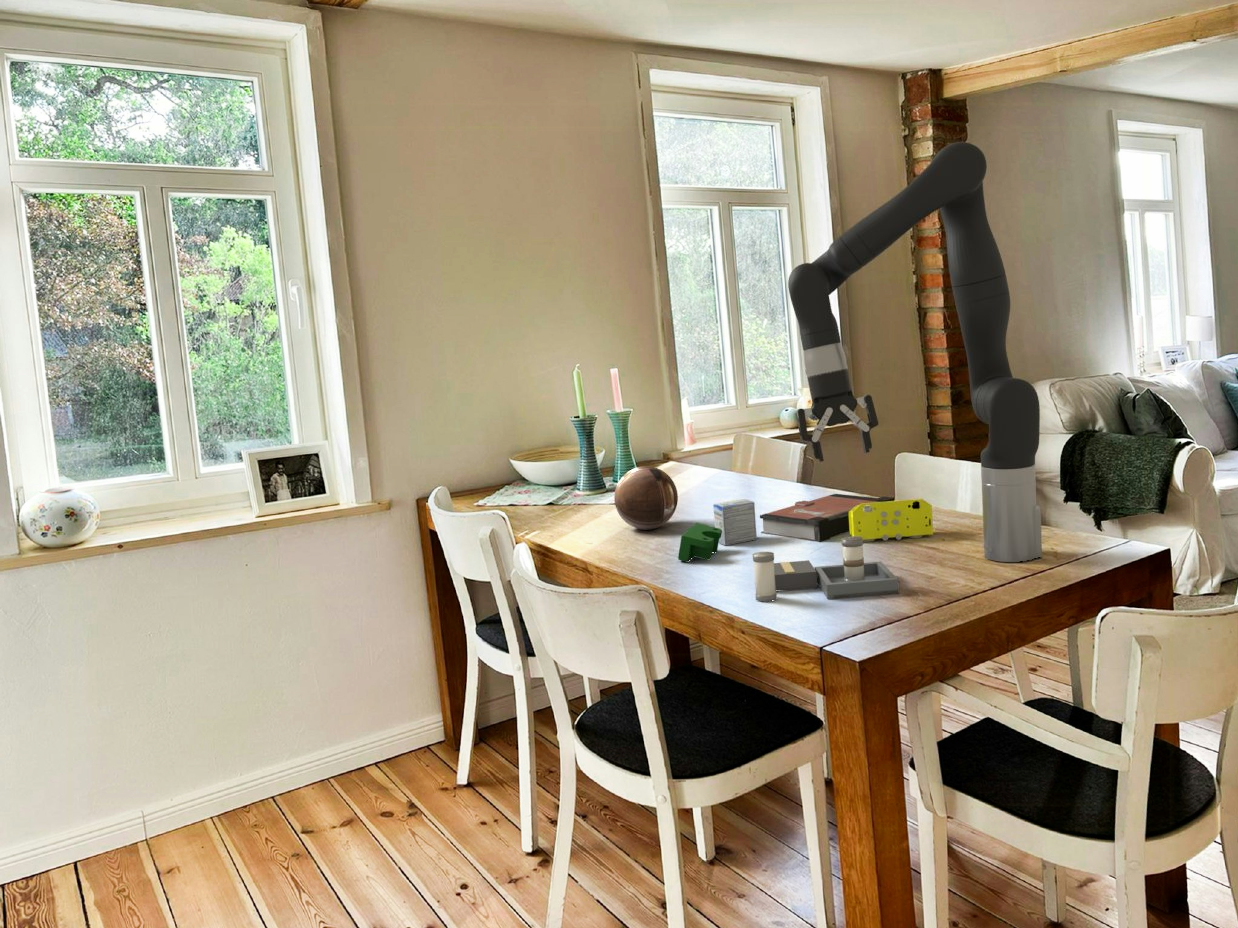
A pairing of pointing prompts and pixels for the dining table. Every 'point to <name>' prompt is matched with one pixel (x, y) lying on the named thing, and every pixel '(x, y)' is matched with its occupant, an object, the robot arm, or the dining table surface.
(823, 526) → the book
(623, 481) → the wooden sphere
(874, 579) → the parts tray
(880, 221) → the robot arm
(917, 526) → the yellow toy chassis
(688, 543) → the clamp
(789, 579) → the block
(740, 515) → the medicine box
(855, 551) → the ball
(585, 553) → the dining table surface
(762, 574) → the fuse
